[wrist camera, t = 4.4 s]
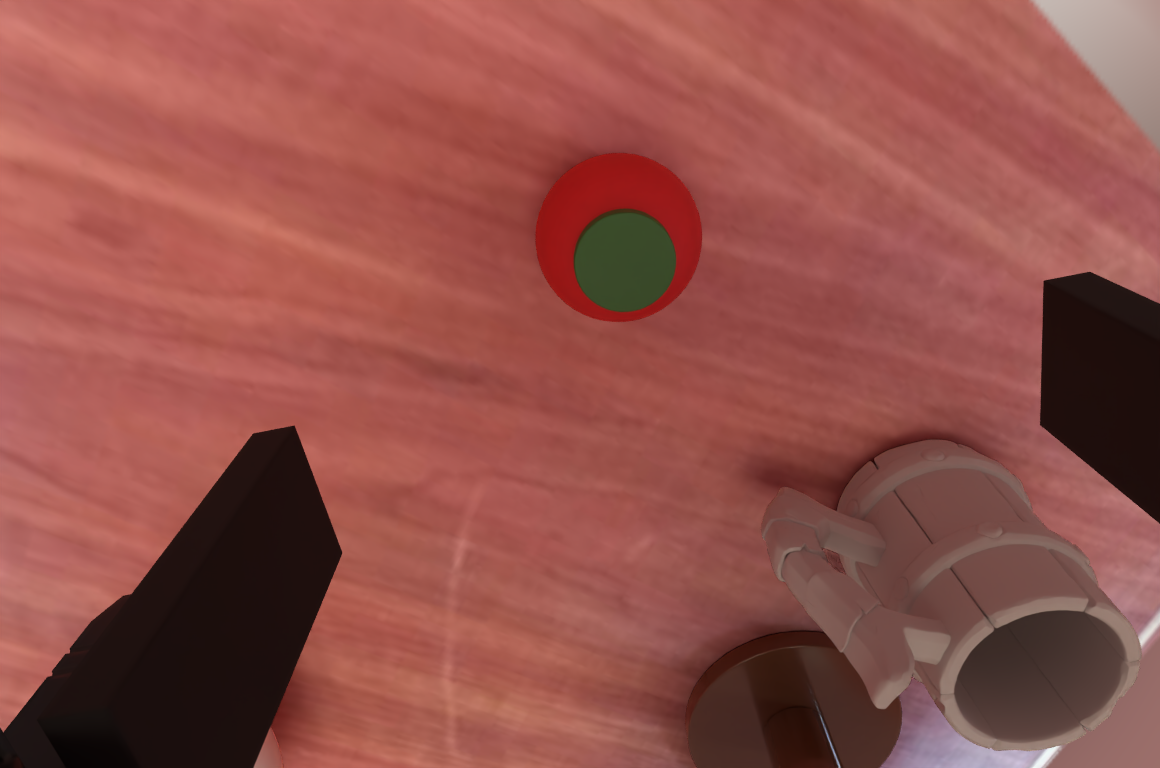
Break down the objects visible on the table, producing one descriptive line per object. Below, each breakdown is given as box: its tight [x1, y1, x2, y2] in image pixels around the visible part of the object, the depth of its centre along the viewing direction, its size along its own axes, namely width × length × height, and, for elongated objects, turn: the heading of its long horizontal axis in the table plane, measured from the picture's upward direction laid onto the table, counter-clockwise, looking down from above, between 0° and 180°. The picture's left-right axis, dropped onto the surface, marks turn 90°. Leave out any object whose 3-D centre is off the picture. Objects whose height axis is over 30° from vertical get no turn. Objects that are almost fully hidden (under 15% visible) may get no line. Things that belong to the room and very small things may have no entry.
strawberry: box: [535, 153, 702, 322], centre depth 27 cm, size 5×5×6 cm
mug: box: [761, 440, 1142, 751], centre depth 29 cm, size 8×12×12 cm, turn 76°
